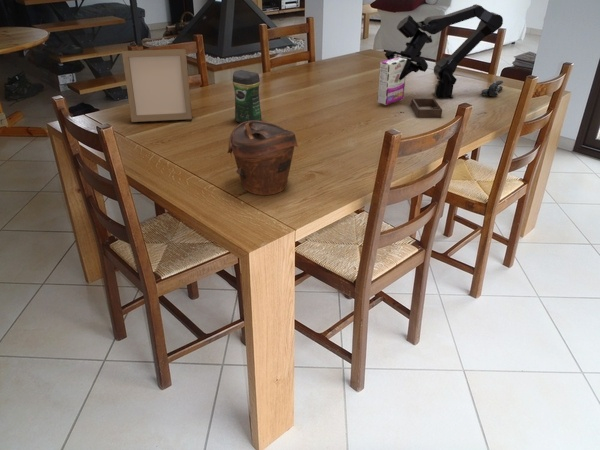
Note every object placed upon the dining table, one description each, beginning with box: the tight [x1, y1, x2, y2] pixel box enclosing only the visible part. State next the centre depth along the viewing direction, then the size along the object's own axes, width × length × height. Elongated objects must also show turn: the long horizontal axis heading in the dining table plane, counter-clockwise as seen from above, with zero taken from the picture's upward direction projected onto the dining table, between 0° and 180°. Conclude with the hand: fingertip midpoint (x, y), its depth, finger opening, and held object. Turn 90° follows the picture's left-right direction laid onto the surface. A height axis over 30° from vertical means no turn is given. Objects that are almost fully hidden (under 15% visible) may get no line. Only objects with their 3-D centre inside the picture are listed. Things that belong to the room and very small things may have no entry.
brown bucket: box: [227, 120, 299, 196], centre depth 139 cm, size 18×20×18 cm
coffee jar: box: [232, 69, 262, 124], centre depth 183 cm, size 10×8×19 cm
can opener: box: [480, 80, 504, 97], centre depth 218 cm, size 18×7×6 cm, turn 143°
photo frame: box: [121, 48, 193, 123], centre depth 185 cm, size 15×22×25 cm
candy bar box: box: [377, 57, 407, 106], centre depth 201 cm, size 11×5×16 cm, turn 131°
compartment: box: [410, 97, 443, 119], centre depth 197 cm, size 9×14×3 cm, turn 0°
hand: (394, 78), depth 201 cm, fingers closed on candy bar box, 5 cm apart
